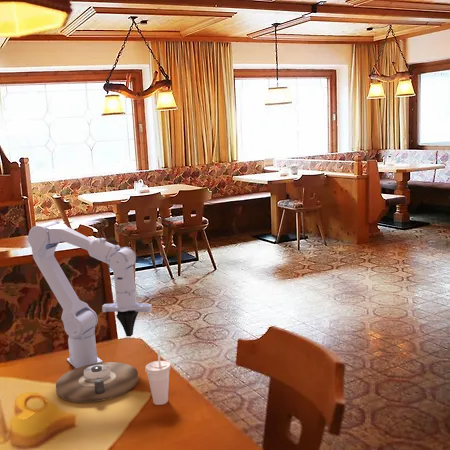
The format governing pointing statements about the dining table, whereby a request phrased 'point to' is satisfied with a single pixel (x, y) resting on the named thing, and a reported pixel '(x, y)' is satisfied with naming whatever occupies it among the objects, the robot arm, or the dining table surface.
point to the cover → (96, 373)
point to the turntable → (97, 383)
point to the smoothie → (158, 380)
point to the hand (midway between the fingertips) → (129, 335)
